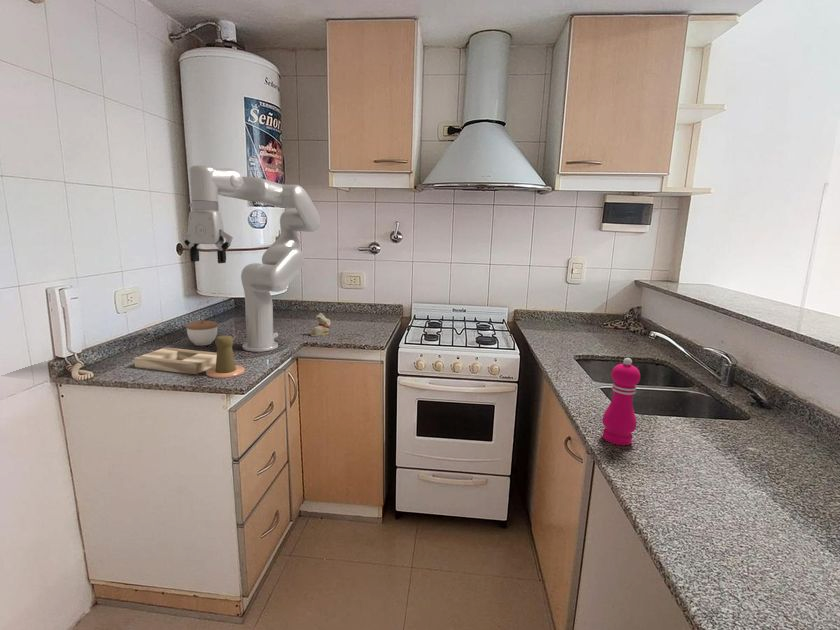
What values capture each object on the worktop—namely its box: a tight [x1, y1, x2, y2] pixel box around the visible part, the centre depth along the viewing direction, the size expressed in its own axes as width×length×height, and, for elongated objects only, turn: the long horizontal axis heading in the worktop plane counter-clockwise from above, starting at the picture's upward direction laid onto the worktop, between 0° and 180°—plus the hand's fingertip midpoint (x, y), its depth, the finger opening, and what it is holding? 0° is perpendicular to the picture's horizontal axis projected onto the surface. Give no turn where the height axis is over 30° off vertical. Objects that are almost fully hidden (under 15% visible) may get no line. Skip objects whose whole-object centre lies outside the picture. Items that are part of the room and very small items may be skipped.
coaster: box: [205, 364, 246, 379], centre depth 137 cm, size 11×11×1 cm
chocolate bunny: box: [309, 312, 332, 336], centre depth 185 cm, size 6×8×10 cm
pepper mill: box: [601, 357, 641, 447], centre depth 101 cm, size 7×7×20 cm
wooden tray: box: [133, 347, 217, 375], centre depth 142 cm, size 13×22×3 cm, turn 78°
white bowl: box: [185, 318, 219, 346], centre depth 166 cm, size 11×11×9 cm
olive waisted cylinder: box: [214, 334, 236, 373], centre depth 136 cm, size 6×6×11 cm
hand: (208, 262), depth 140 cm, fingers open, 9 cm apart
